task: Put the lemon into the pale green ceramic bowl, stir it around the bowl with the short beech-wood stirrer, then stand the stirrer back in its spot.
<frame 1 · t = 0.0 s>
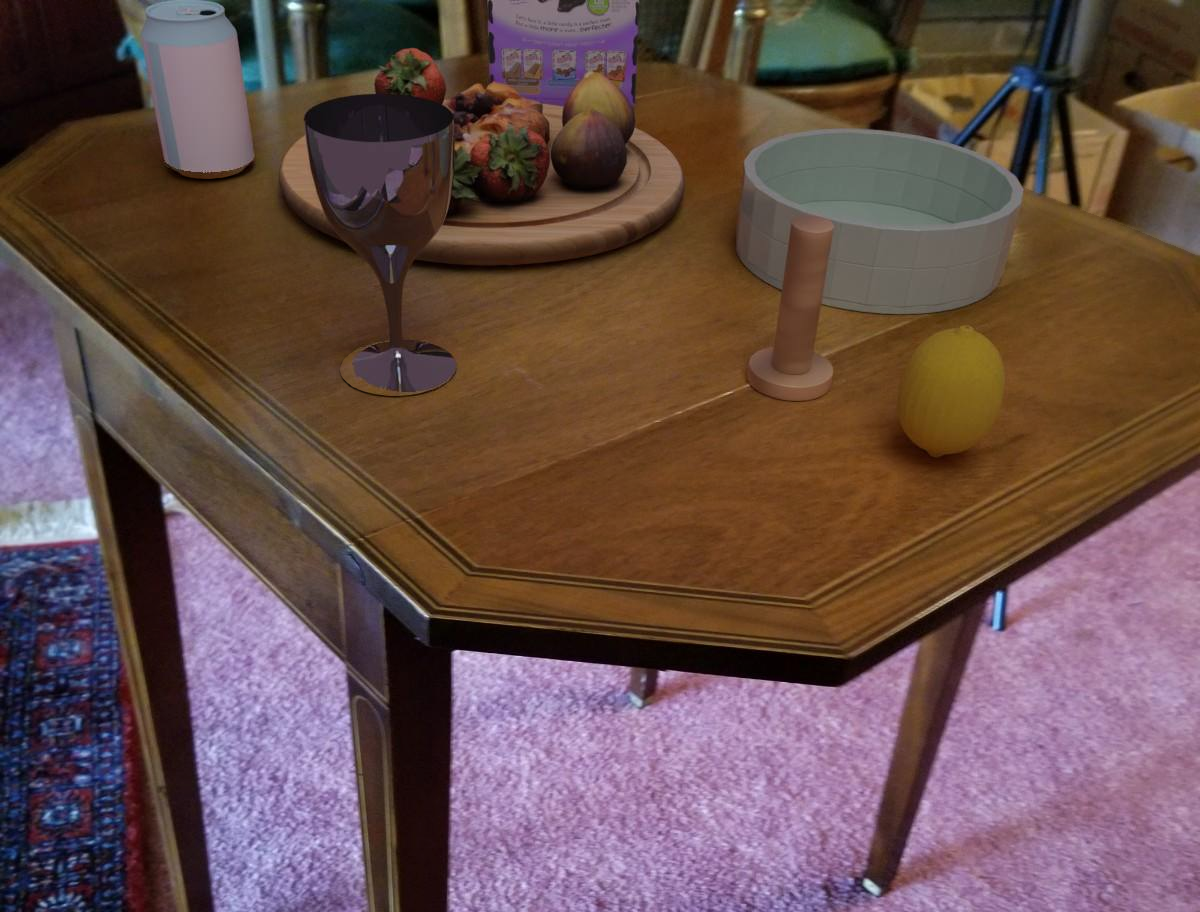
bowl: (867, 254, 90), on the table
lemon: (933, 458, 69), on the table
can: (211, 169, 99), on the table
candy box: (561, 101, 116), on the table
stirrer: (788, 380, 75), on the table
wine glass: (398, 370, 74), on the table
wooden plate: (484, 192, 97), on the table
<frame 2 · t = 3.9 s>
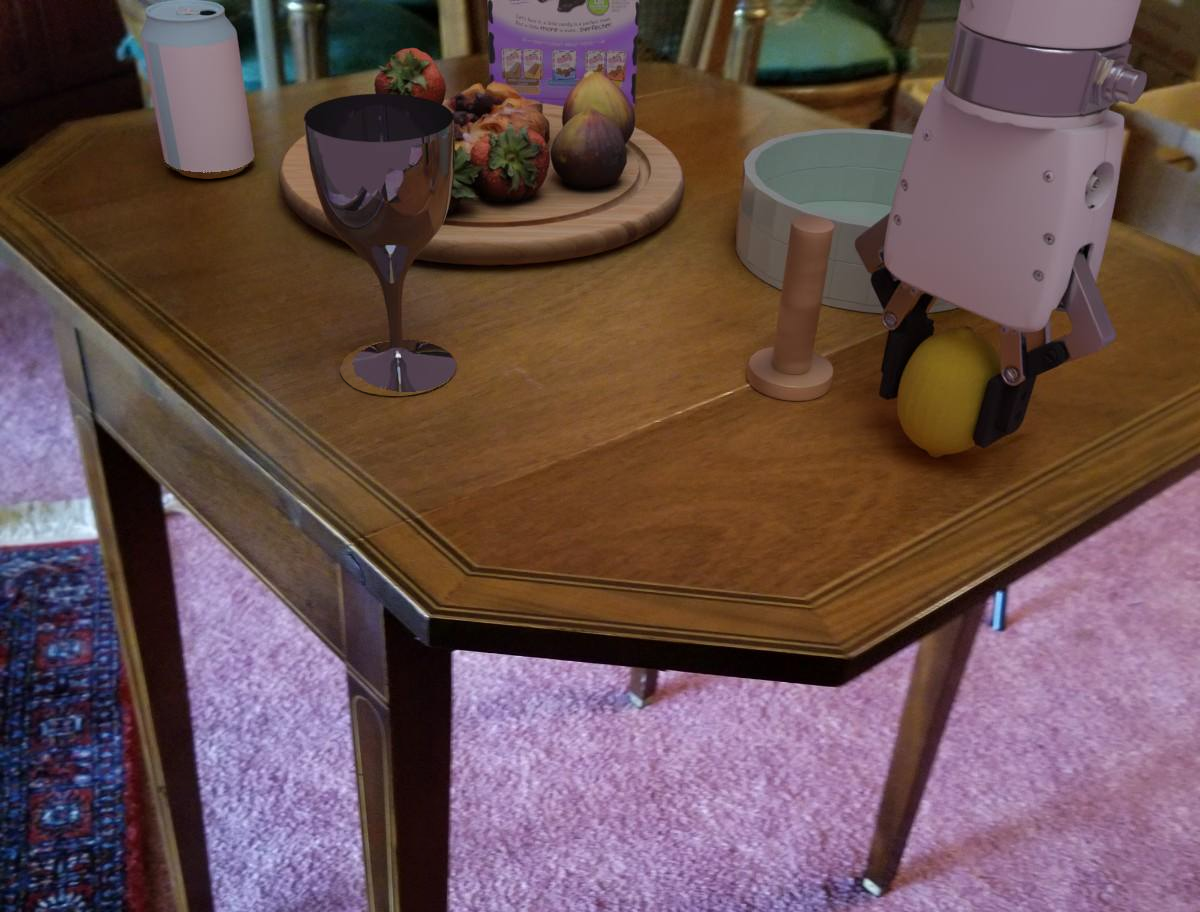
hand: (945, 411, 67), 3 cm above the table, tool pointing down, fingers closed on lemon, 5 cm apart
lemon: (933, 458, 69), on the table, touching gripper
everything else where it was.
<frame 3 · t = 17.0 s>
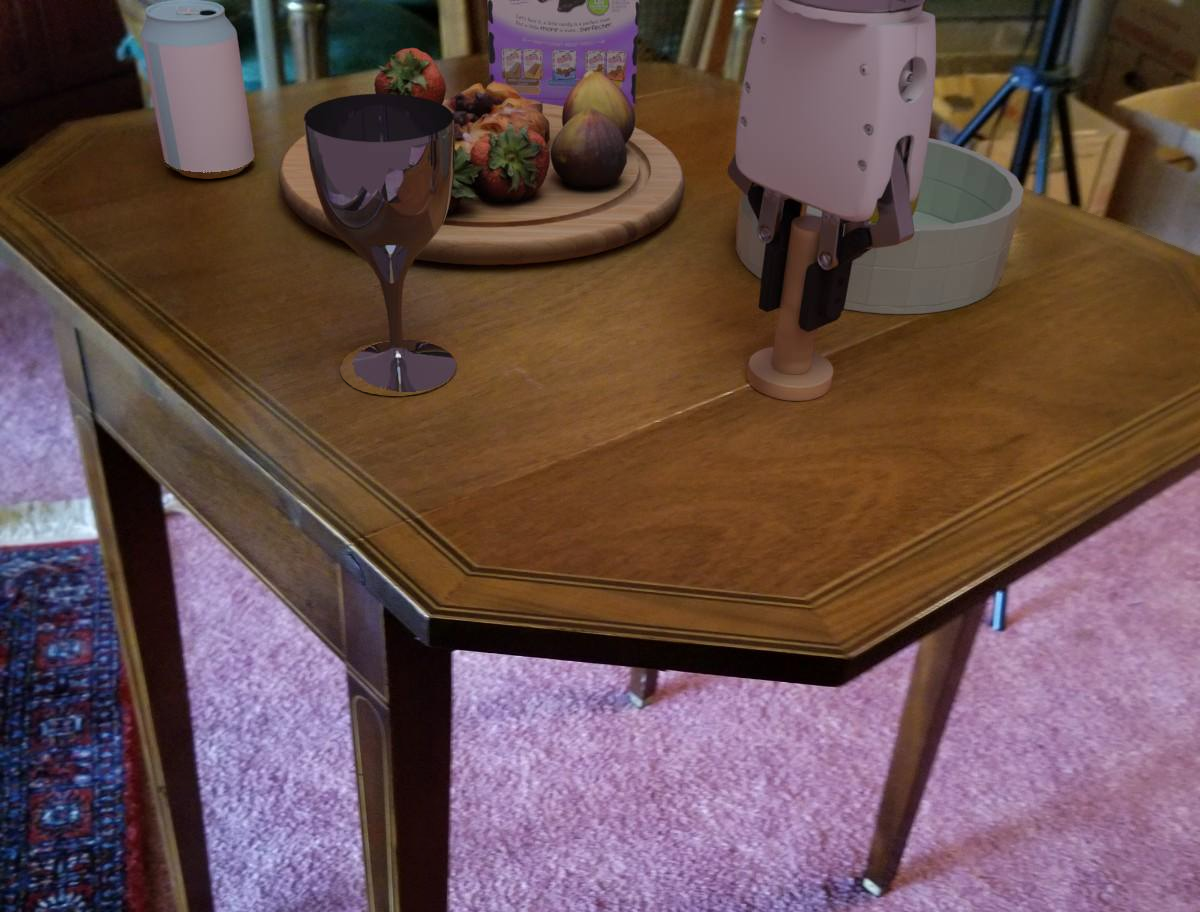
hand: (799, 311, 72), 5 cm above the table, tool pointing down, fingers closed on stirrer, 2 cm apart
lemon: (869, 250, 89), resting on bowl
stirrer: (788, 380, 75), on the table, touching gripper
everything else where it was.
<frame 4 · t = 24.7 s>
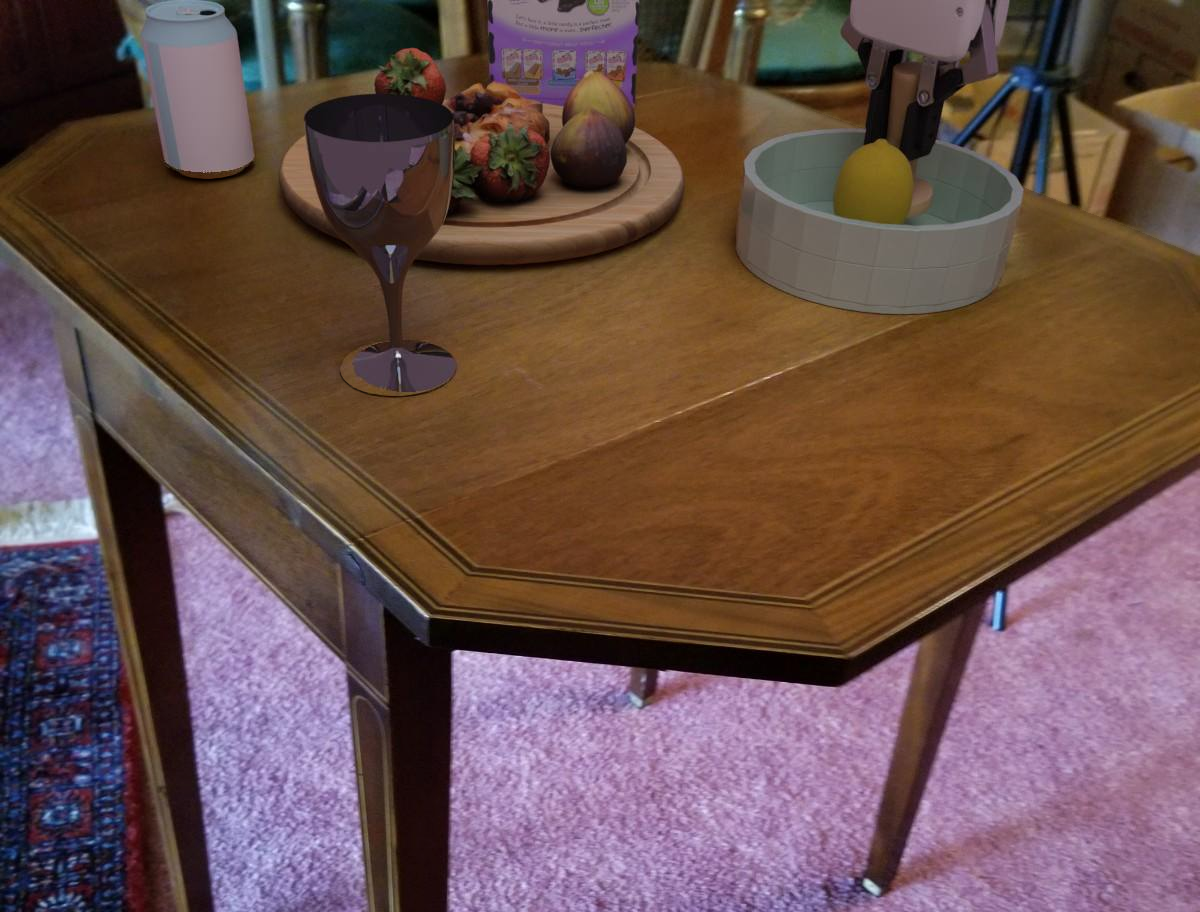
hand: (897, 148, 88), 7 cm above the table, tool pointing down, fingers closed on stirrer, 2 cm apart
lemon: (864, 251, 89), resting on bowl, touching gripper, stirrer
stirrer: (896, 202, 91), point 3 cm above the table, tilted 8°, touching gripper, lemon
everything else where it was.
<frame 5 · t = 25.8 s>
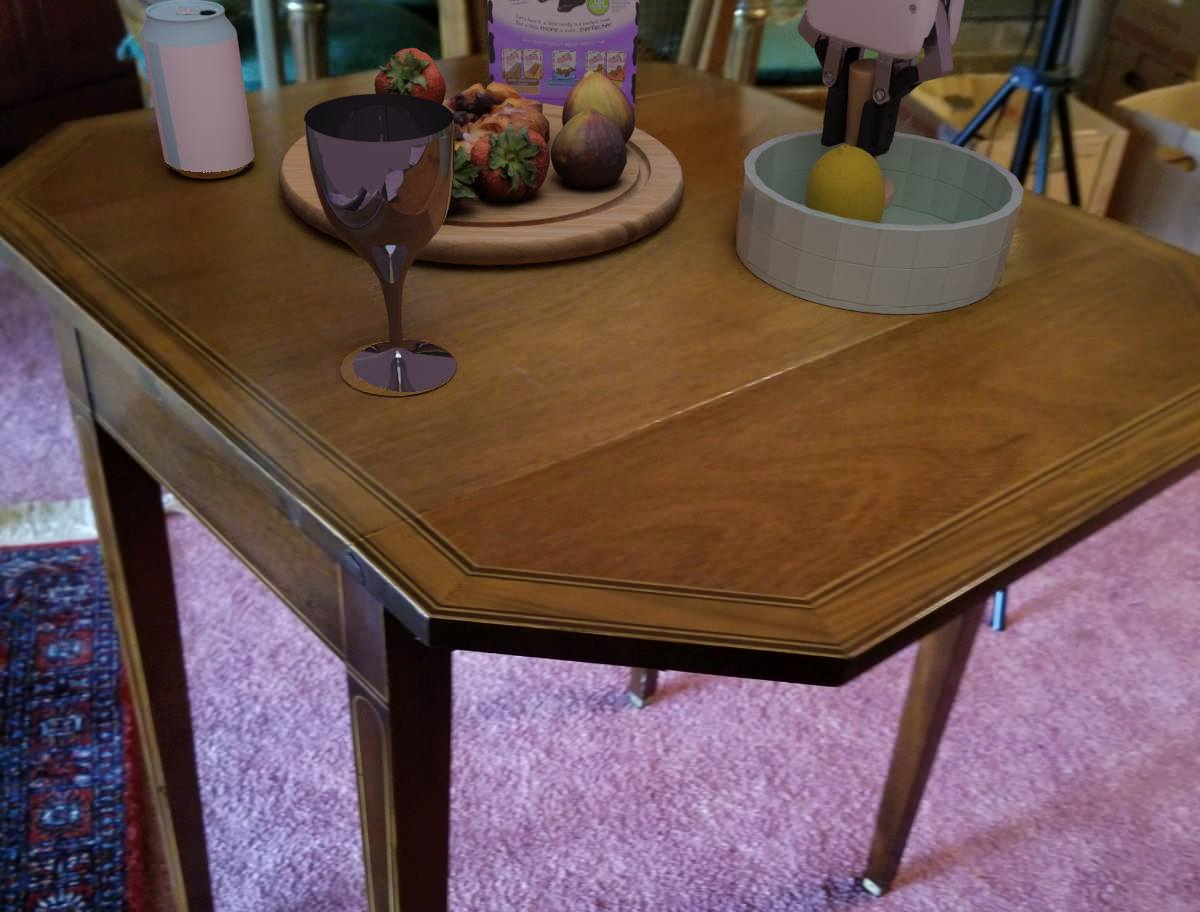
hand: (854, 147, 87), 7 cm above the table, tool pointing down, fingers closed on stirrer, 2 cm apart
lemon: (845, 250, 88), point 1 cm above the table, touching bowl, gripper, stirrer
stirrer: (857, 199, 90), point 3 cm above the table, tilted 10°, touching gripper, lemon
everything else where it was.
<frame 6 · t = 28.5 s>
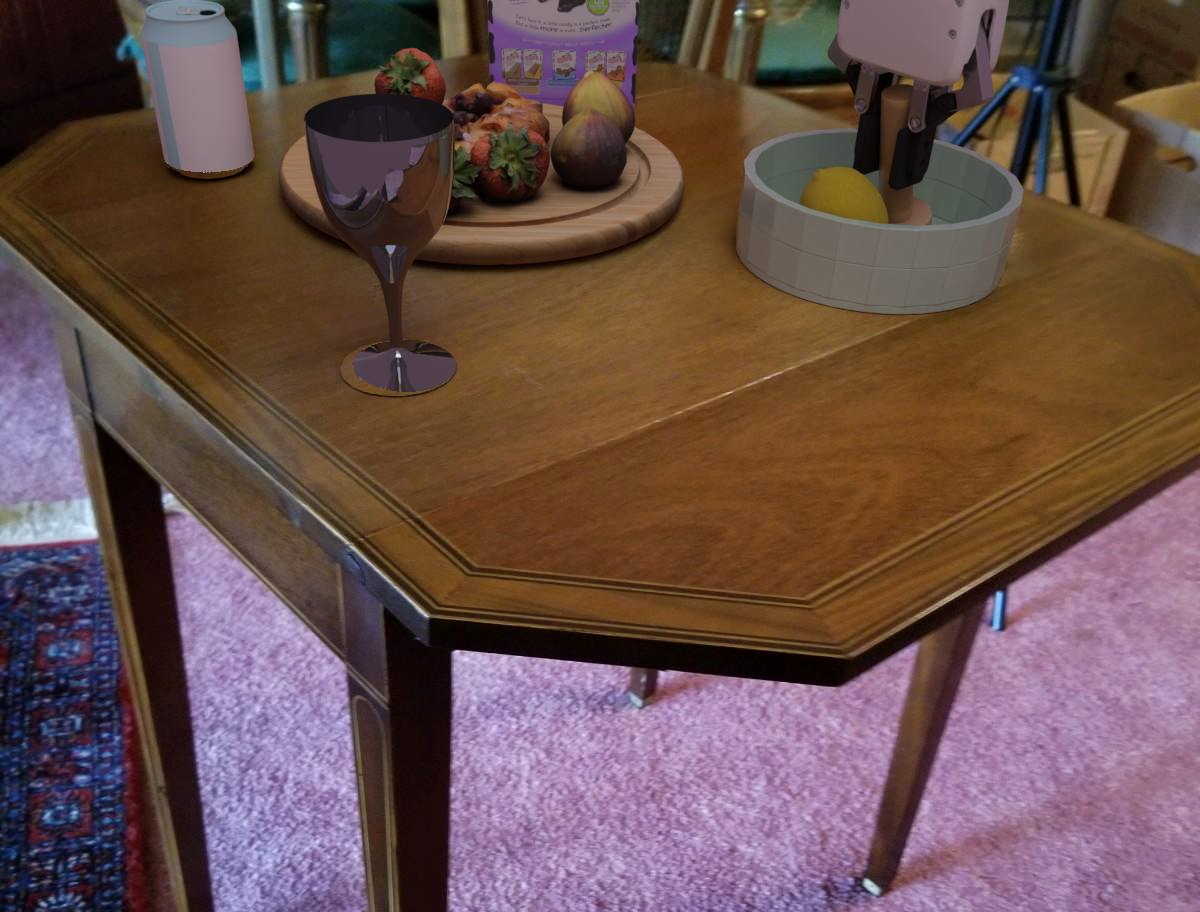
hand: (887, 175, 83), 7 cm above the table, tool pointing down, fingers closed on stirrer, 2 cm apart
lemon: (871, 264, 85), point 1 cm above the table, touching bowl
stirrer: (894, 226, 87), point 3 cm above the table, tilted 14°, touching gripper
everything else where it was.
when the fingers open (5 cm above the table, at t = 37.4 s): stirrer stays where it is, on the table.
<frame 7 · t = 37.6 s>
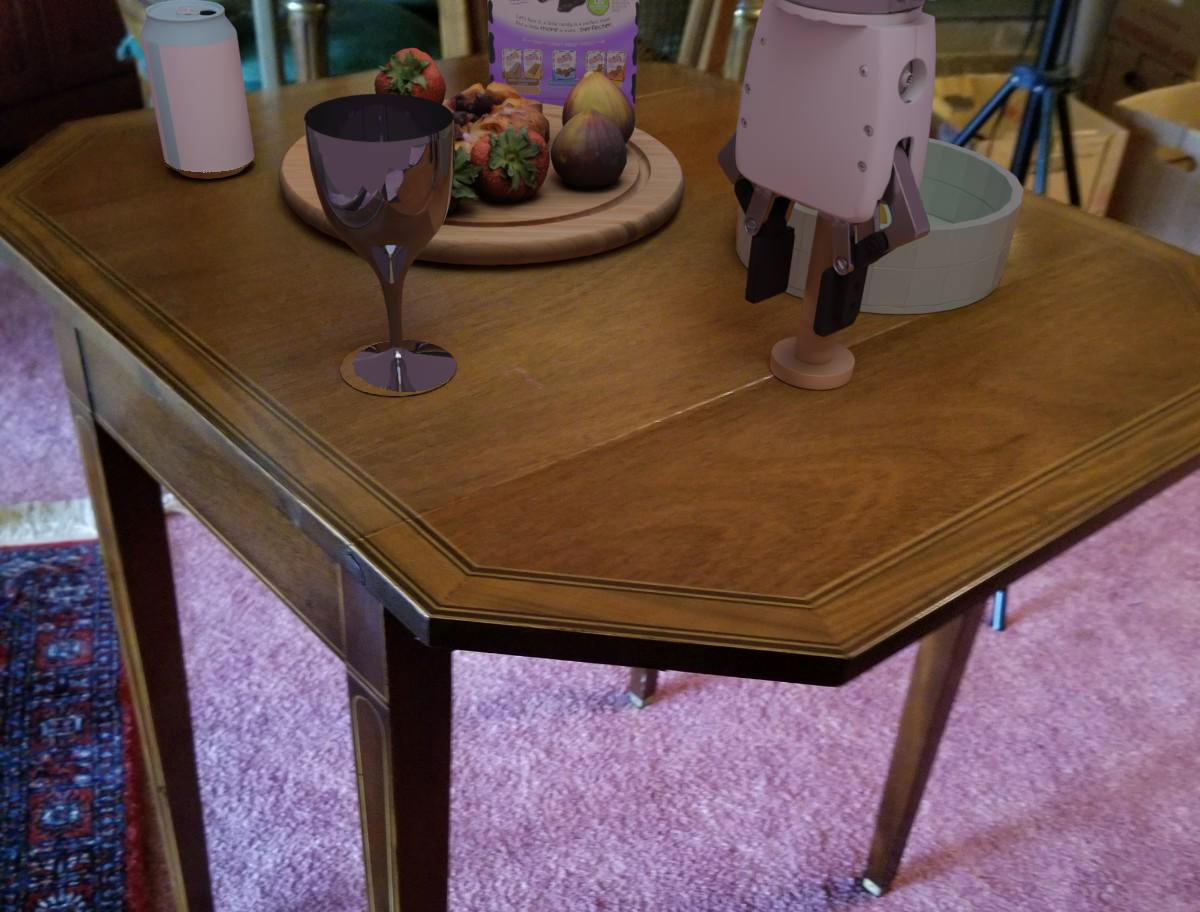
hand: (799, 309, 72), 5 cm above the table, tool pointing down, fingers open, 4 cm apart
stirrer: (810, 369, 76), on the table
everything else where it was.
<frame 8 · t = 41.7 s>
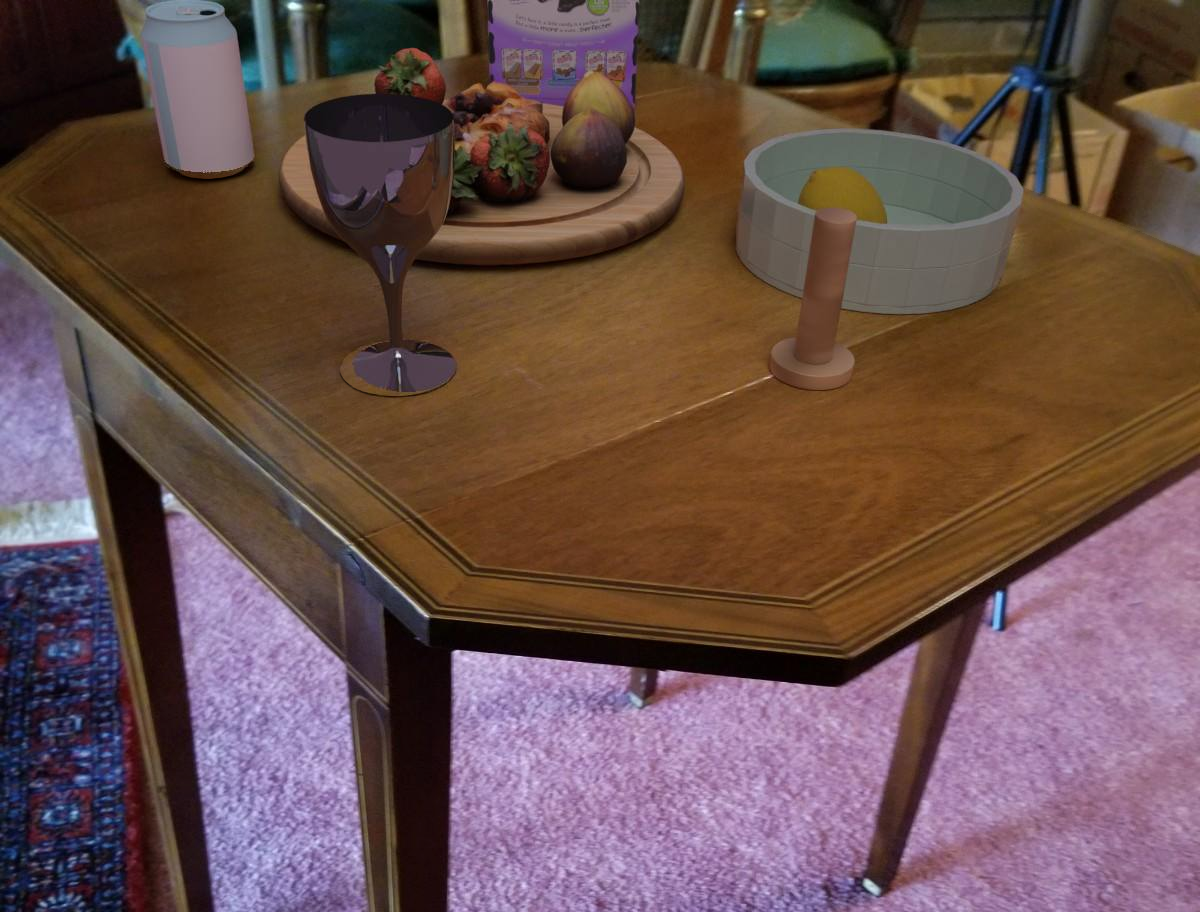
nothing on the table moved.
at the end: lemon inside the target area in the bowl (4.8 cm from its centre), point 1.4 cm above the bowl's base; stirrer inside the target area (2.1 cm from its centre), on the table; stirrer tilted 0° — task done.
